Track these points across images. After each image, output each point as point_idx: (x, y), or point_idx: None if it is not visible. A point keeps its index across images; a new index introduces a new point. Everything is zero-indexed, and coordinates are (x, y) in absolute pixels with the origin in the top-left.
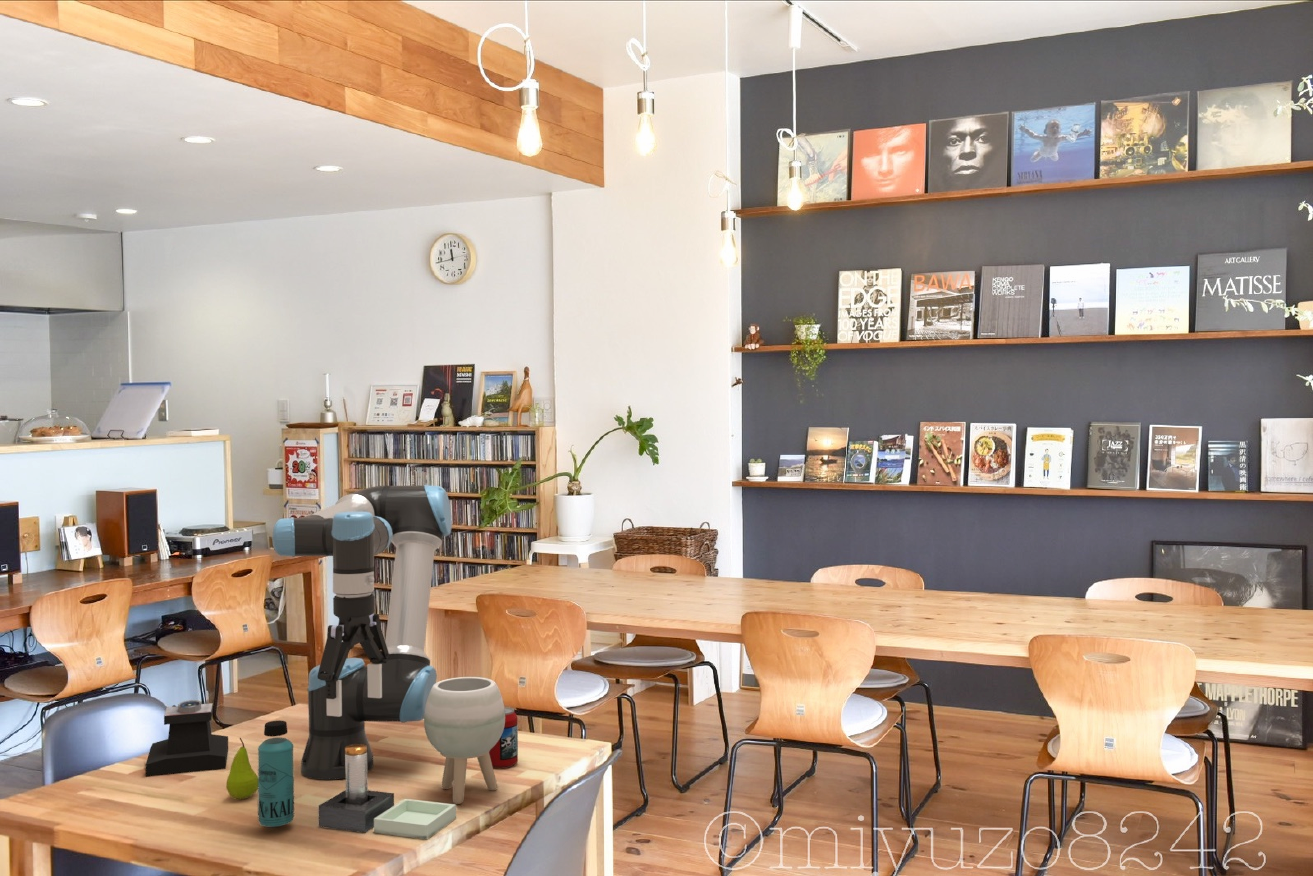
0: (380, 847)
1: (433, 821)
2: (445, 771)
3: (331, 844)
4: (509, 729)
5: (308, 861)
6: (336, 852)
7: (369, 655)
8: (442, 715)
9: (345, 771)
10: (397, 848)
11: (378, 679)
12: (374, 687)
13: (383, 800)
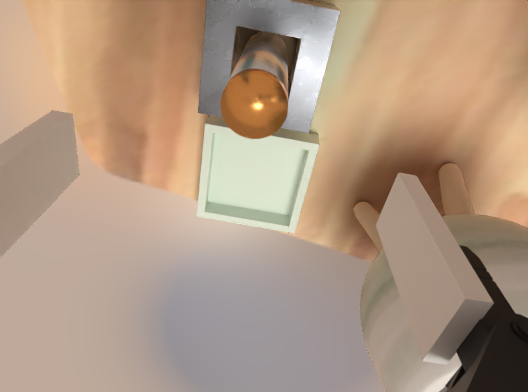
0: (154, 146)
1: (218, 219)
2: (445, 191)
3: (141, 54)
4: None
5: (58, 45)
6: (111, 80)
7: (464, 383)
8: (382, 325)
9: (243, 59)
10: (158, 172)
11: (399, 282)
12: (396, 234)
13: None
